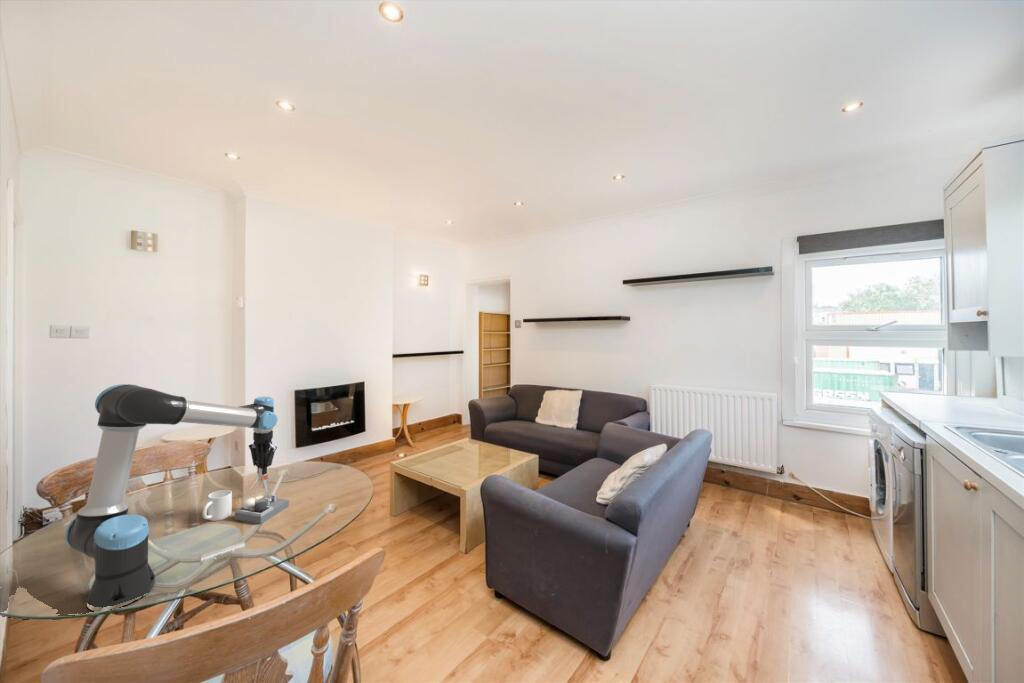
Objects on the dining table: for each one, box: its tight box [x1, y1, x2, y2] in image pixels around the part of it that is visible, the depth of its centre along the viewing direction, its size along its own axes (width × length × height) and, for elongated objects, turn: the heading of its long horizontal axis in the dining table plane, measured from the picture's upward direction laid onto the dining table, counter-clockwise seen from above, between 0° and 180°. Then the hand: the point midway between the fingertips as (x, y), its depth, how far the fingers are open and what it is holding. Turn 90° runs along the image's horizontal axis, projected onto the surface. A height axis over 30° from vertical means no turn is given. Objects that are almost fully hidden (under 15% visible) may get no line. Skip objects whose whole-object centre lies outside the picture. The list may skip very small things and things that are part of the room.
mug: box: [201, 489, 233, 522], centre depth 163 cm, size 12×8×10 cm
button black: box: [255, 502, 267, 513], centre depth 165 cm, size 4×4×3 cm
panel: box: [234, 493, 290, 525], centre depth 170 cm, size 16×13×6 cm
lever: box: [262, 474, 273, 502], centre depth 174 cm, size 2×1×13 cm
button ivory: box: [242, 497, 256, 509], centre depth 166 cm, size 4×4×3 cm
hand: (261, 480), depth 174 cm, fingers closed
